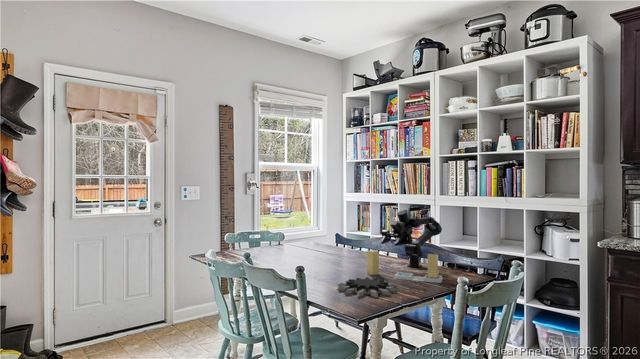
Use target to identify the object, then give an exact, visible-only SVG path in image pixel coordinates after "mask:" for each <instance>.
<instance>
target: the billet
mask: <svg viewBox="0 0 640 359" xmlns="http://www.w3.org/2000/svg"><path fill="white" fill-rule="evenodd" d="M379 257H380V251H379V250H374V249H372V250H366V274H367V275H369V276H376V275H377V276H378V275H380V258H379Z"/></svg>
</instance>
